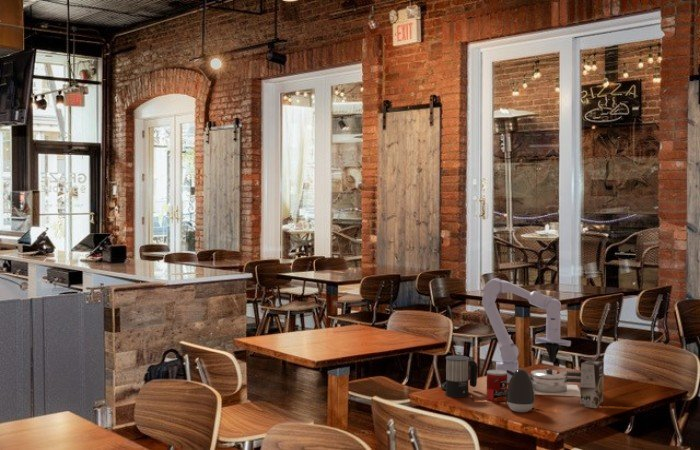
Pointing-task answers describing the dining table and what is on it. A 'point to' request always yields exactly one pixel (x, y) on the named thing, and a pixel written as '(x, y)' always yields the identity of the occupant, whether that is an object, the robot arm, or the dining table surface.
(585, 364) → the coffee box
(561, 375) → the lid
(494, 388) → the canned food
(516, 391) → the pump dispenser
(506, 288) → the robot arm
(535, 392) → the board
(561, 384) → the pot
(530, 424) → the dining table surface
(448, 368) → the milk frother
